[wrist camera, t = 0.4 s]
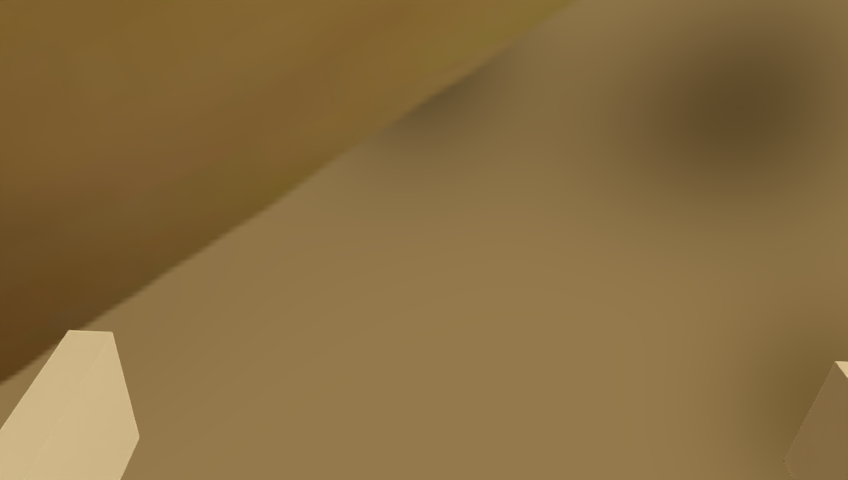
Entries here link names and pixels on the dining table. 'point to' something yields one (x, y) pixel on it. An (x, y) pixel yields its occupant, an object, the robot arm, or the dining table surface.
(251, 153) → the dining table surface
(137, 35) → the dining table surface
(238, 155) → the dining table surface
